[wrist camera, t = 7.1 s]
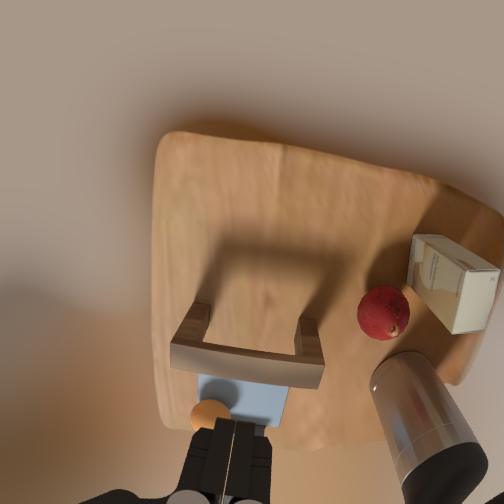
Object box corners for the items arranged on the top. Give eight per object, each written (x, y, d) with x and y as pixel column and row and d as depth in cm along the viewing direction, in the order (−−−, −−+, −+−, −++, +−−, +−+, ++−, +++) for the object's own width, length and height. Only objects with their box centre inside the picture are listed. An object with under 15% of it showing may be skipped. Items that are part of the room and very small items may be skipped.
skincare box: (411, 232, 33) (466, 266, 21) (442, 234, 33) (502, 265, 21) (404, 286, 35) (450, 336, 23) (435, 285, 34) (486, 332, 23)
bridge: (193, 302, 37) (170, 342, 28) (315, 320, 37) (325, 365, 28) (192, 324, 38) (170, 367, 29) (310, 341, 37) (317, 389, 29)
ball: (227, 447, 36) (231, 425, 42) (230, 415, 36) (233, 394, 41) (187, 441, 36) (194, 420, 42) (186, 409, 36) (195, 389, 41)
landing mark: (200, 349, 39) (200, 350, 39) (294, 363, 38) (294, 364, 38) (197, 413, 42) (197, 414, 42) (278, 425, 42) (278, 426, 42)
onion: (364, 269, 35) (386, 297, 27) (404, 285, 35) (432, 314, 27) (343, 312, 36) (357, 349, 28) (383, 326, 36) (403, 362, 29)
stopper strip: (264, 425, 42) (263, 437, 40) (263, 429, 42) (262, 441, 40) (210, 417, 42) (207, 429, 40) (210, 421, 43) (207, 433, 40)
